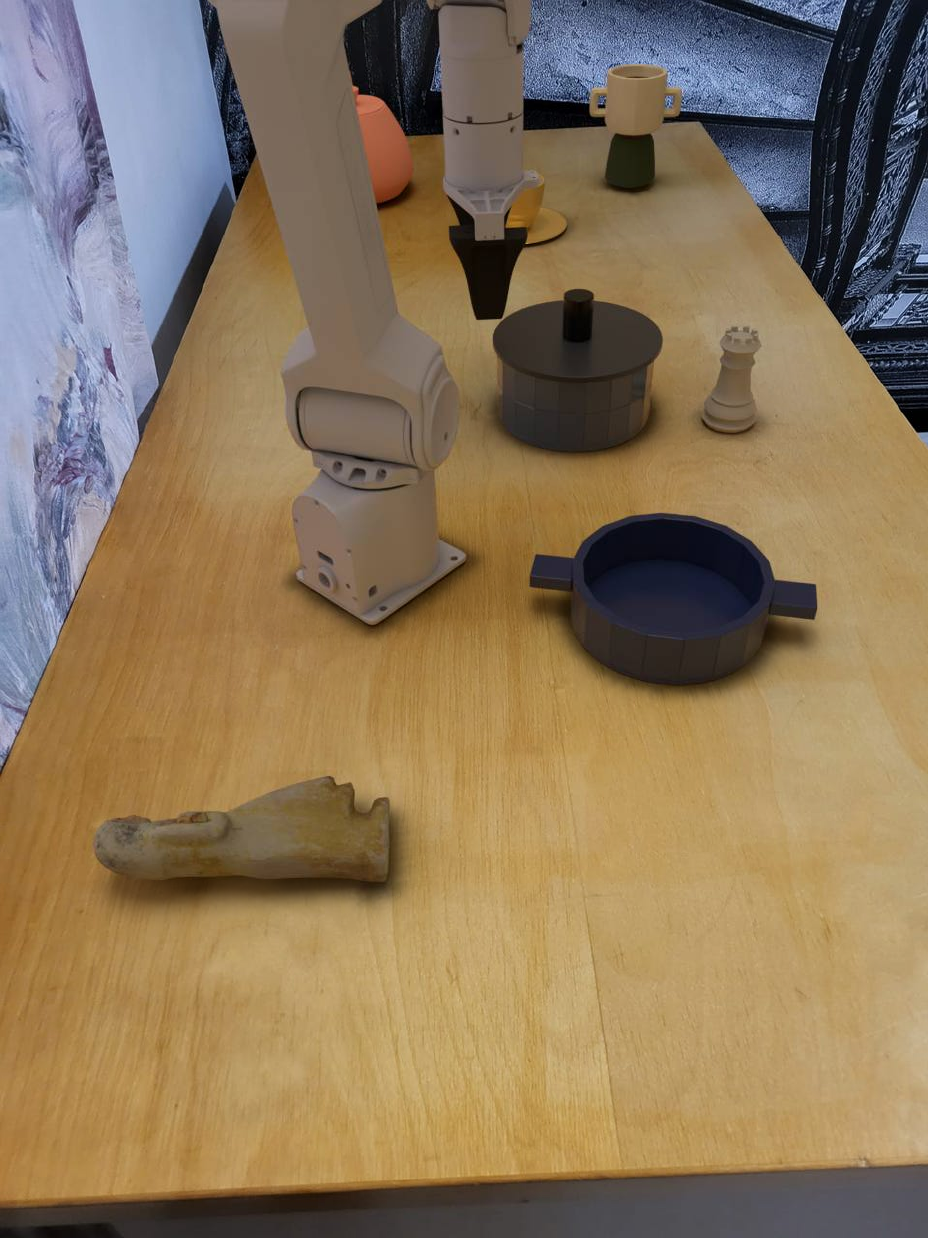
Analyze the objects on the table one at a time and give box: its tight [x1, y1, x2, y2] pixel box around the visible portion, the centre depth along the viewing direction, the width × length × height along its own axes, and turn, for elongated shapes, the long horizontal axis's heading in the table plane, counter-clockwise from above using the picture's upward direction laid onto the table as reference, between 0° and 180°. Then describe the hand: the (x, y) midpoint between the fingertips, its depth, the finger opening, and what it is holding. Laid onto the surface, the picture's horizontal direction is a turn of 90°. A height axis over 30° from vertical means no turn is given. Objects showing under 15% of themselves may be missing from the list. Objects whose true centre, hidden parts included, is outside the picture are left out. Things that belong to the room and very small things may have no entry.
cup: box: [505, 173, 568, 245], centre depth 116 cm, size 12×12×5 cm
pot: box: [496, 355, 655, 453], centre depth 84 cm, size 13×13×6 cm
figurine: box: [92, 775, 391, 883], centre depth 52 cm, size 5×5×15 cm
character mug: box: [589, 63, 683, 189], centre depth 124 cm, size 11×7×13 cm, turn 83°
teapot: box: [349, 70, 414, 205], centre depth 125 cm, size 22×15×12 cm
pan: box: [528, 512, 818, 686], centre depth 65 cm, size 13×18×4 cm
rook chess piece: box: [701, 324, 762, 434], centre depth 82 cm, size 4×4×8 cm
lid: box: [492, 288, 664, 383], centre depth 81 cm, size 14×14×5 cm
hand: (486, 296), depth 80 cm, fingers open, 7 cm apart
